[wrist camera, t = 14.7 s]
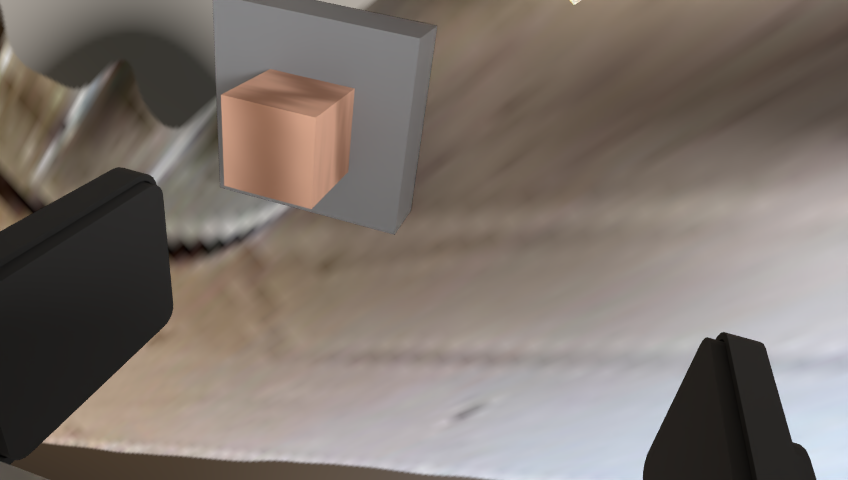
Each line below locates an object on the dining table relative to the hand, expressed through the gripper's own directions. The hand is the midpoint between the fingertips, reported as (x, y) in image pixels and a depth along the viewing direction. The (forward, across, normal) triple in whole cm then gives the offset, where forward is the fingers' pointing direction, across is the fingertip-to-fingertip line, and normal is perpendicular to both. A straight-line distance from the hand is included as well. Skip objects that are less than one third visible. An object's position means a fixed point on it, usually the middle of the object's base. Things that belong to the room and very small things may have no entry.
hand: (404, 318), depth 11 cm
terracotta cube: (+29, +15, +10) cm, 34 cm away
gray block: (+33, +15, +10) cm, 38 cm away
